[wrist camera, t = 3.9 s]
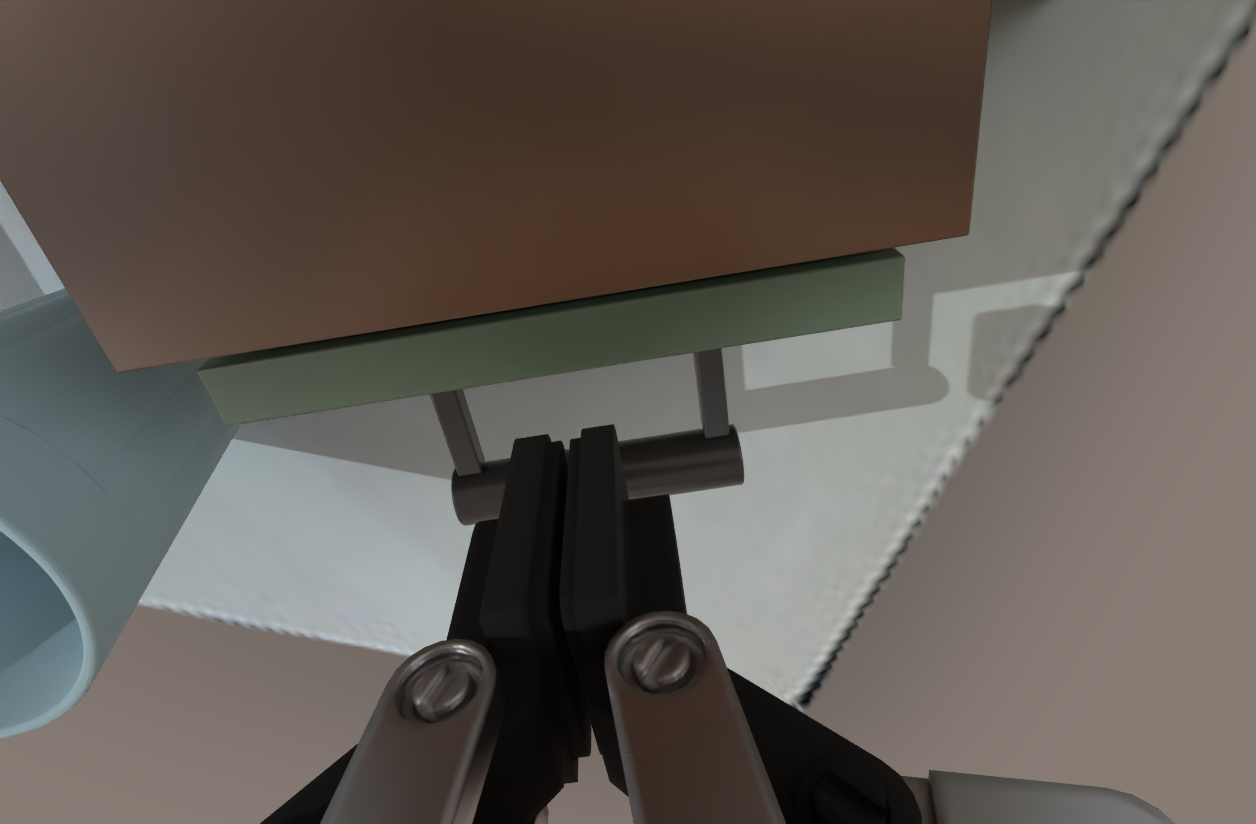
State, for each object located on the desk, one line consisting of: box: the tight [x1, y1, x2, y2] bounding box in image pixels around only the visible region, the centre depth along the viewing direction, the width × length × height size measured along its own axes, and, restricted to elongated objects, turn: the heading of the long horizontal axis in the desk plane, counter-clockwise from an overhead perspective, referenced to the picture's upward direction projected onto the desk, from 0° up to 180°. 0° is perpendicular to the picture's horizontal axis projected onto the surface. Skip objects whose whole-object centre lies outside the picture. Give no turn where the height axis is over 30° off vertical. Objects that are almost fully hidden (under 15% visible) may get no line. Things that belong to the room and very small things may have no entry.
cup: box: [0, 288, 240, 738], centre depth 17 cm, size 8×8×10 cm
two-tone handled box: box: [197, 247, 905, 526], centre depth 14 cm, size 20×12×8 cm, turn 9°
